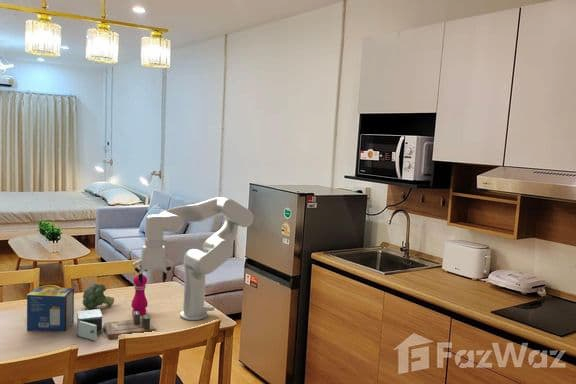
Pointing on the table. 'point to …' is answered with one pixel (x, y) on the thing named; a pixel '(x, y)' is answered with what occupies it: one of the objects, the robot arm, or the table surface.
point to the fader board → (128, 327)
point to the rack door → (86, 330)
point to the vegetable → (96, 296)
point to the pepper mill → (139, 296)
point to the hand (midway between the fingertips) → (152, 281)
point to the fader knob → (136, 317)
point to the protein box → (50, 309)
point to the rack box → (91, 318)
